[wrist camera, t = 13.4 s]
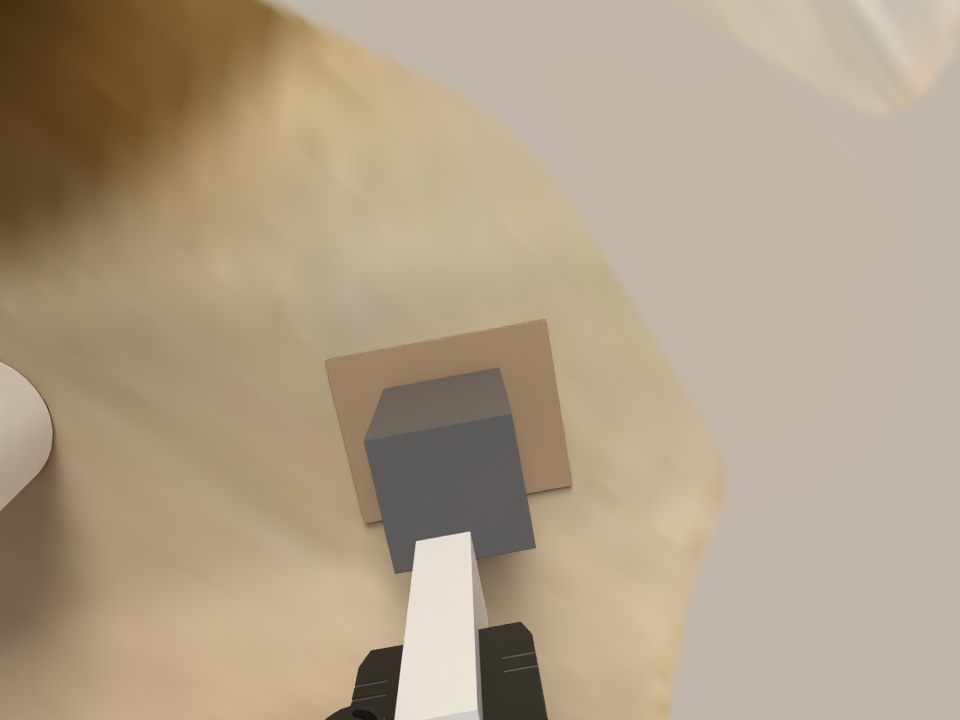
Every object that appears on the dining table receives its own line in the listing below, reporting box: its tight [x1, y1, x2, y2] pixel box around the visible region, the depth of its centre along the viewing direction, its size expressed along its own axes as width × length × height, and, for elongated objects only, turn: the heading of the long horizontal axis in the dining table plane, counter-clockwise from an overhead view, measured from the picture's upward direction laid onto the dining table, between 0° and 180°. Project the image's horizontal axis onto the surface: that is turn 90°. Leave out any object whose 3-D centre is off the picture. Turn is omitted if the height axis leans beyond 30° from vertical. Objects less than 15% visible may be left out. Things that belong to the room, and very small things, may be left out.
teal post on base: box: [325, 319, 572, 524], centre depth 28 cm, size 10×8×7 cm
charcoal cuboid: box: [364, 367, 536, 574], centre depth 27 cm, size 5×5×7 cm
